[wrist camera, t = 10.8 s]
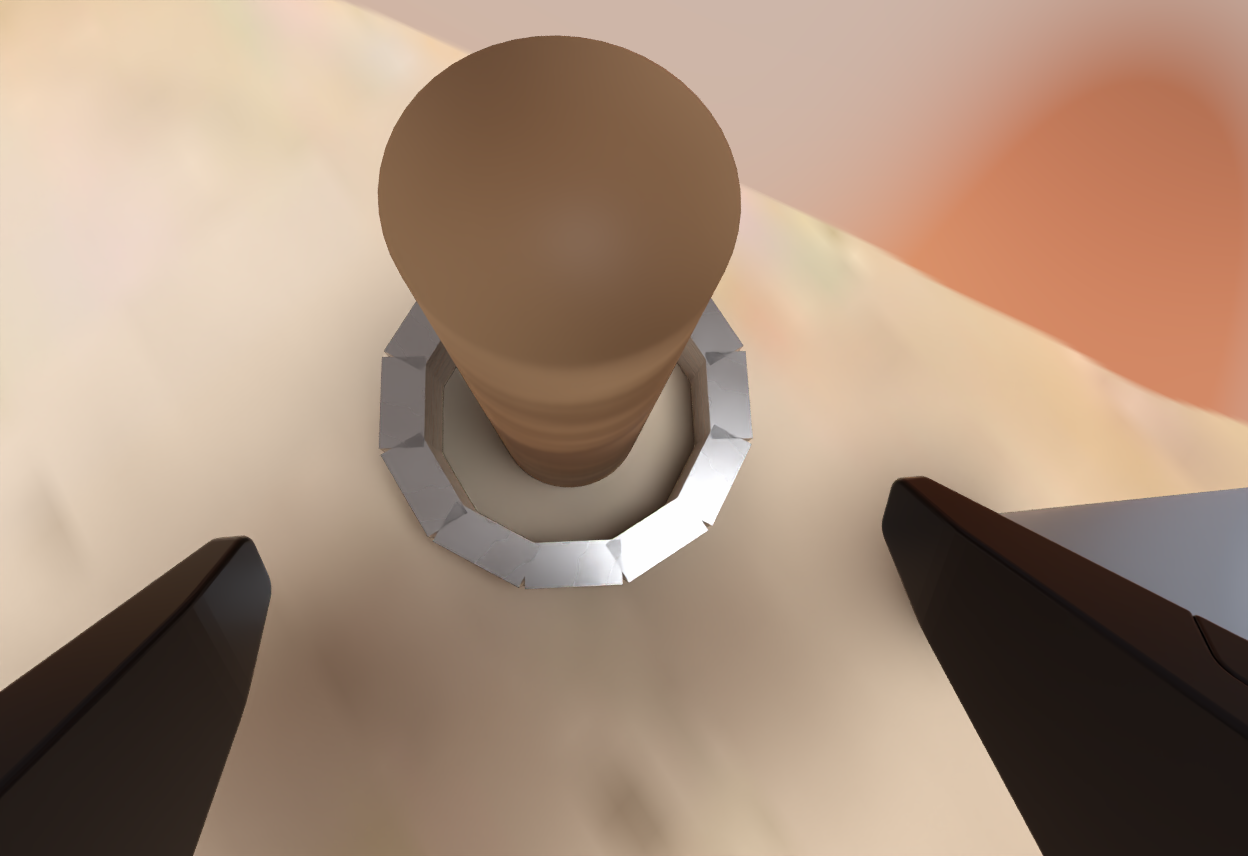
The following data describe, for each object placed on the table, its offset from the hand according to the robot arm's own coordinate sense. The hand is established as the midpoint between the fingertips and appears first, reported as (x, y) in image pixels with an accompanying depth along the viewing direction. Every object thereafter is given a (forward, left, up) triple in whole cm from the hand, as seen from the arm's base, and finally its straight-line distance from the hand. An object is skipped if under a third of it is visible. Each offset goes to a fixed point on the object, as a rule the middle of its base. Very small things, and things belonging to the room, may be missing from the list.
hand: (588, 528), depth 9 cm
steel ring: (+3, +2, -11) cm, 12 cm away
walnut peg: (+3, +2, -11) cm, 12 cm away
